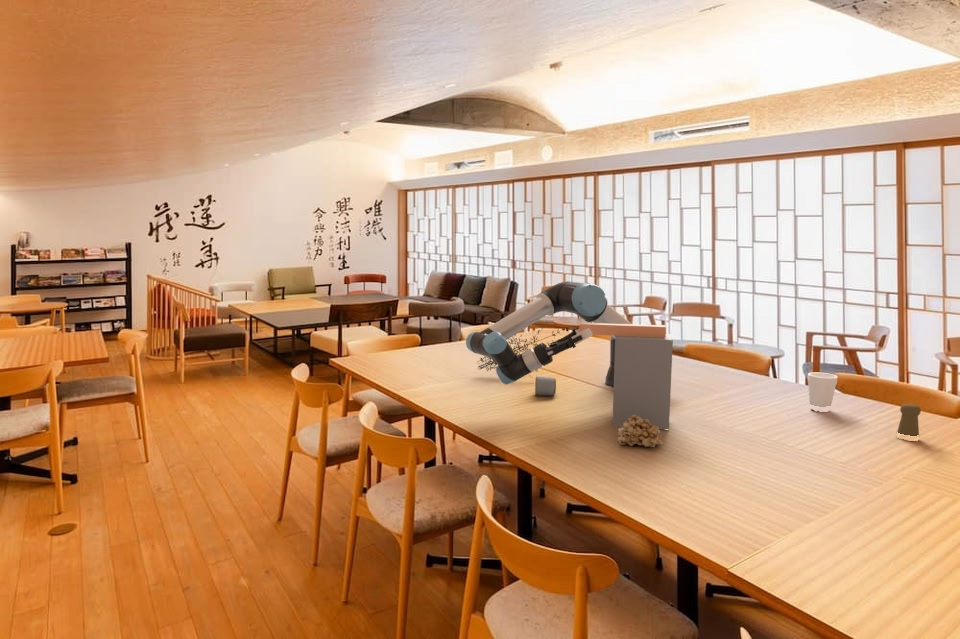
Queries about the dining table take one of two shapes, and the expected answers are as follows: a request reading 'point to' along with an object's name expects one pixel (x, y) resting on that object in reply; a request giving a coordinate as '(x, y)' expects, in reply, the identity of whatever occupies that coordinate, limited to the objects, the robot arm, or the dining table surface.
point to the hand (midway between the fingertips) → (592, 328)
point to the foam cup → (821, 388)
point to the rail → (624, 329)
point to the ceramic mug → (545, 386)
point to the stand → (642, 379)
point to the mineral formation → (639, 432)
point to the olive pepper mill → (909, 420)
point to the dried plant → (515, 350)
